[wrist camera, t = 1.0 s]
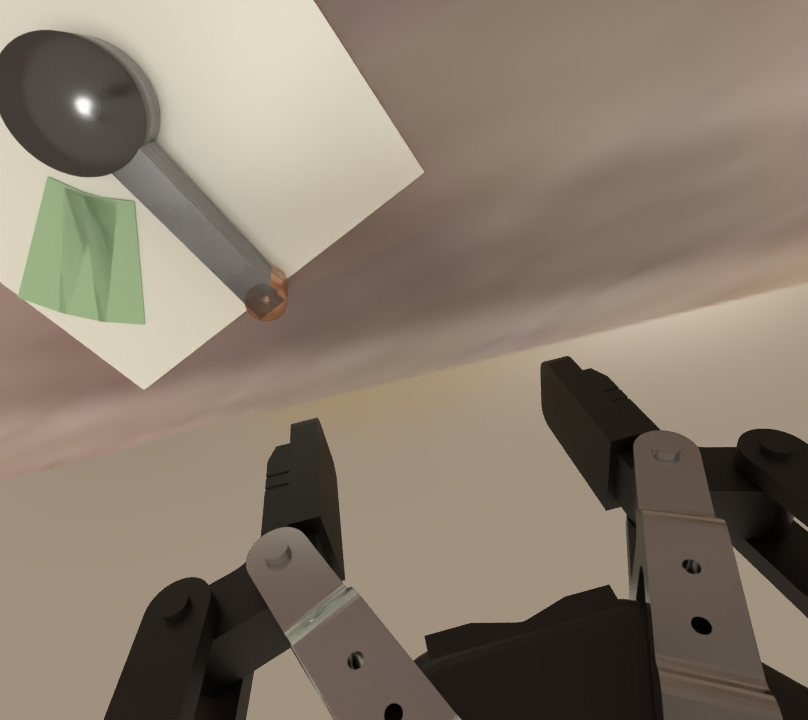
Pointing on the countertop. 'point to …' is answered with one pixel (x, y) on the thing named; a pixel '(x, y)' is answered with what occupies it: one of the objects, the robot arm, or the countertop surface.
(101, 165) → the metal serving spoon
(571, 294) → the countertop surface
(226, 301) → the dial plate
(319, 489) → the robot arm
